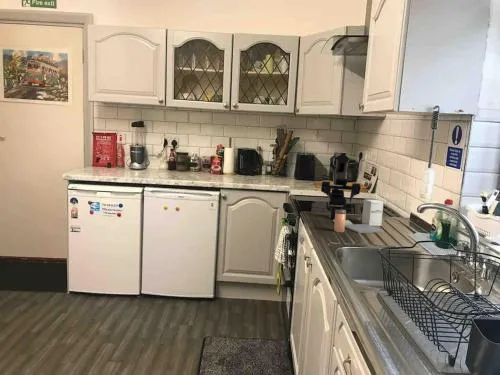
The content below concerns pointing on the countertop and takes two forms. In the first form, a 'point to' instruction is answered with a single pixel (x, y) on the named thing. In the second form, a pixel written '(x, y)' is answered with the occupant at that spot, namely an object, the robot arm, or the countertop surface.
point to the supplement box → (372, 212)
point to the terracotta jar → (339, 220)
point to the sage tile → (346, 222)
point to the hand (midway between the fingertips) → (340, 201)
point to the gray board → (363, 228)
